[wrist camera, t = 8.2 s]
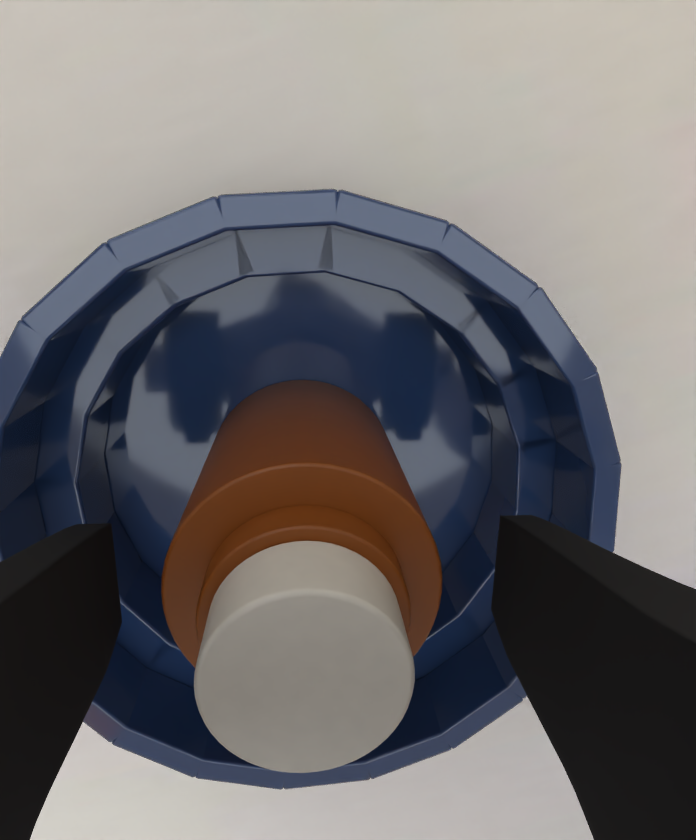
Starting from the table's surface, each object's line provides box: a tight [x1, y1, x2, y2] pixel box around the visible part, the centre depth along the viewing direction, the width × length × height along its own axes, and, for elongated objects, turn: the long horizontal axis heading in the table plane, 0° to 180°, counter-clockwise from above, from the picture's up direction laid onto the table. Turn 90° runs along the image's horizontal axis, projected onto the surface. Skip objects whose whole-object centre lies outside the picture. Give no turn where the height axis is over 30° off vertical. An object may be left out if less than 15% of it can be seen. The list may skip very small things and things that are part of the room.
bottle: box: [161, 380, 442, 773], centre depth 12 cm, size 5×5×8 cm
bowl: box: [0, 189, 621, 789], centre depth 14 cm, size 13×13×4 cm
